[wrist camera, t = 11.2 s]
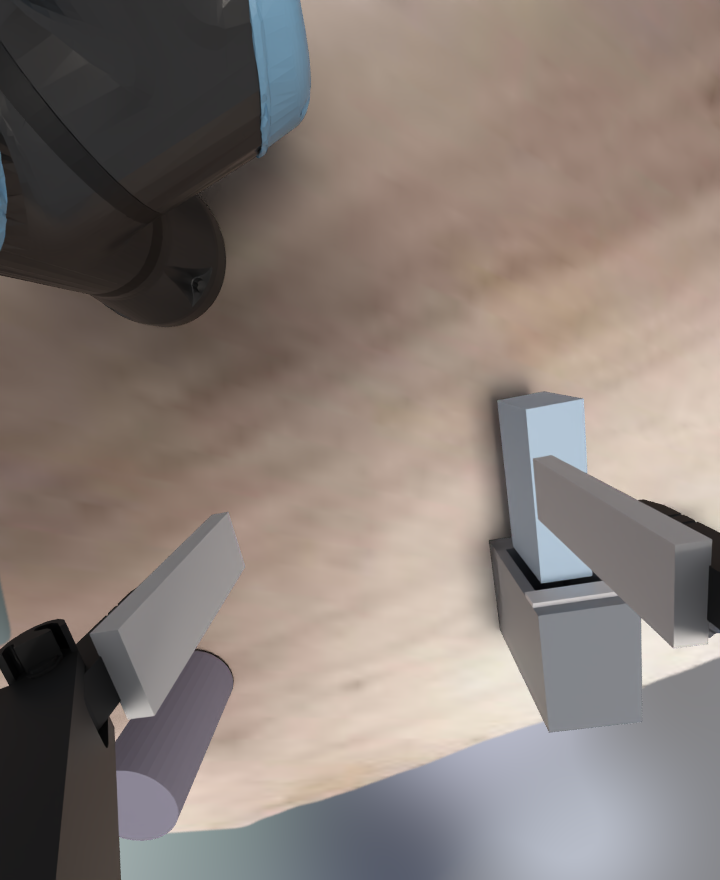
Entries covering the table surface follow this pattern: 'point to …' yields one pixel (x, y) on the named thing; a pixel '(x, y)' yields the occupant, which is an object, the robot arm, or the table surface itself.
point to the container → (169, 749)
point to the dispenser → (569, 644)
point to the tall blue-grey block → (523, 438)
